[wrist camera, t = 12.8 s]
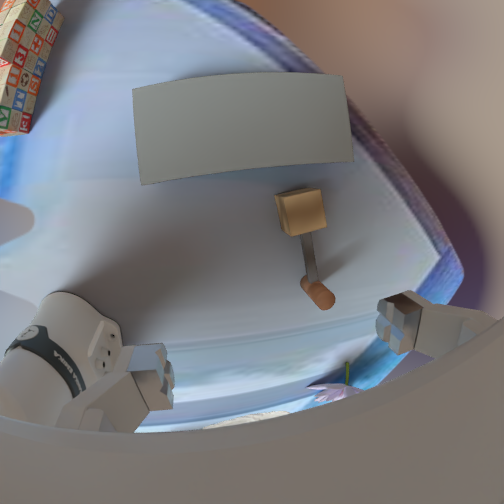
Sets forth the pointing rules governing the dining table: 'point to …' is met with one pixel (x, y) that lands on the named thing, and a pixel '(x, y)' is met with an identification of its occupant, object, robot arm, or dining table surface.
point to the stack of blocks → (23, 59)
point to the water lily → (335, 390)
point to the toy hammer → (306, 236)
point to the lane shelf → (240, 123)
